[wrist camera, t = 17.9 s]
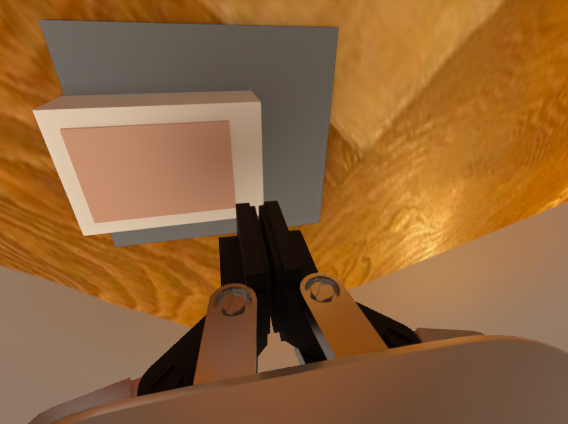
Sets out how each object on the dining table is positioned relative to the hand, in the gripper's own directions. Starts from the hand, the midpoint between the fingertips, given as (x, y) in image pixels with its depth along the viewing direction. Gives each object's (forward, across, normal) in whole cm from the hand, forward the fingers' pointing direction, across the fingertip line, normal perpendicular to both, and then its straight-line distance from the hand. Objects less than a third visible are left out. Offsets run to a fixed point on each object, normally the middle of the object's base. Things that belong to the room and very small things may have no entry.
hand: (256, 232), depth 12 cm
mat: (+13, +1, +1) cm, 13 cm away
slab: (+11, -2, +1) cm, 11 cm away
